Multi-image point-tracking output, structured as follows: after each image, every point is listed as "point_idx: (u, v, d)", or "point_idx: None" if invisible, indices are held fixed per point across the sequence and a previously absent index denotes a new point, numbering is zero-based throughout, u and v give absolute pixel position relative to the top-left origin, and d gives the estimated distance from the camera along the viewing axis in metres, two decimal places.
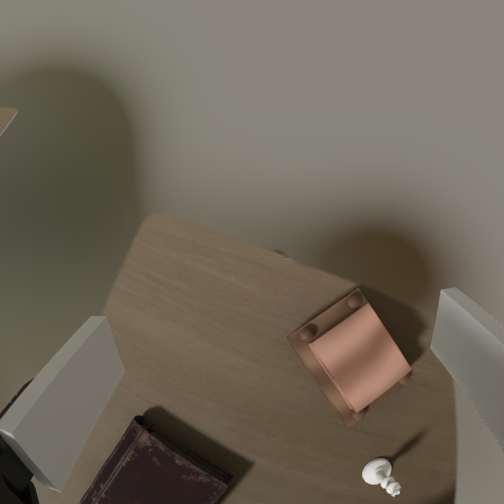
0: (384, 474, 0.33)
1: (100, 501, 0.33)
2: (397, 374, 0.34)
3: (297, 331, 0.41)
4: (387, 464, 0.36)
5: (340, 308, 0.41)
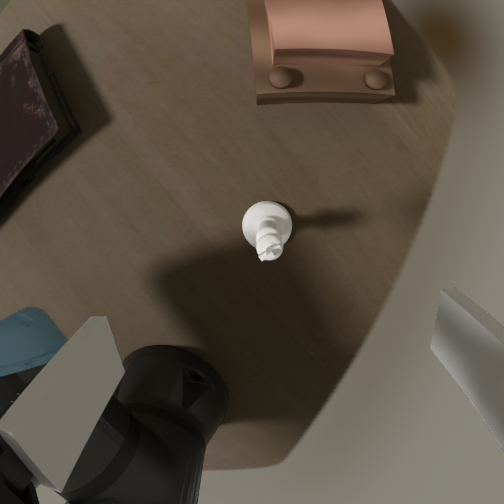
0: None
1: None
2: (368, 42, 0.17)
3: None
4: (287, 222, 0.30)
5: None
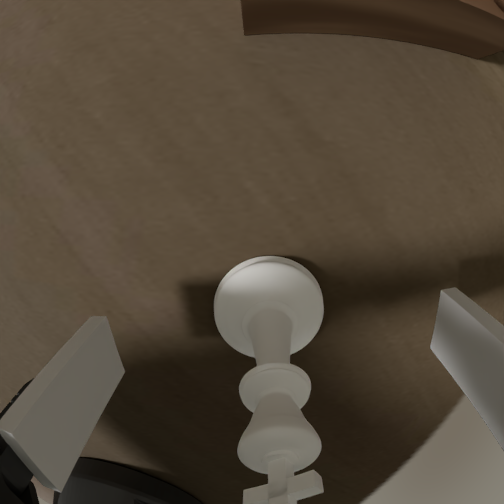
0: (284, 339, 0.10)
1: None
2: None
3: None
4: (314, 306, 0.13)
5: None
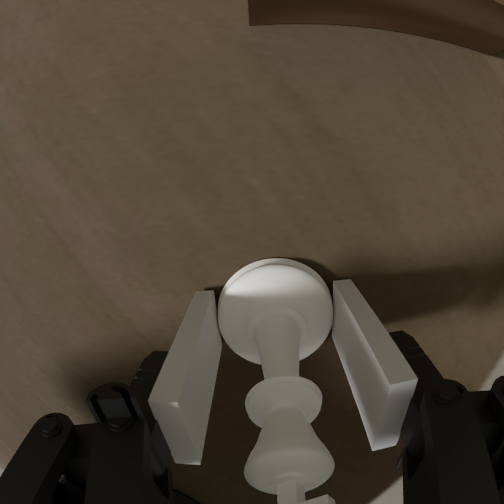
0: (292, 348, 0.10)
1: None
2: None
3: None
4: (324, 311, 0.12)
5: None
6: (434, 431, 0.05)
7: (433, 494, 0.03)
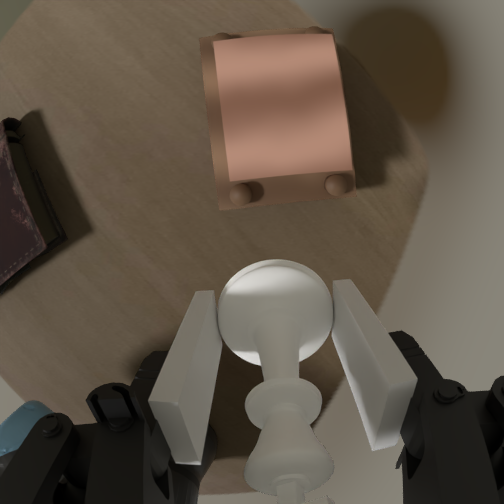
0: (292, 349, 0.10)
1: None
2: (325, 160, 0.21)
3: (214, 37, 0.22)
4: (324, 313, 0.12)
5: None
6: (434, 431, 0.05)
7: (433, 494, 0.03)
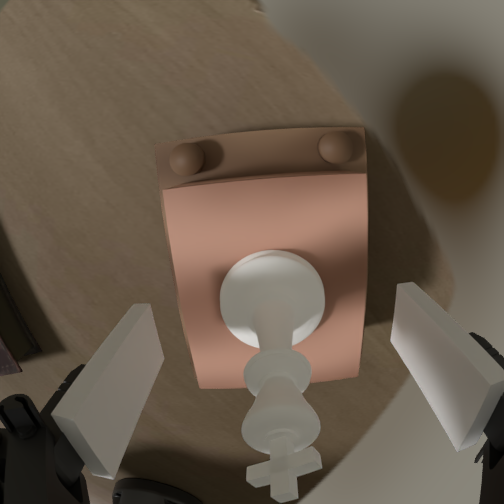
0: (286, 328, 0.11)
1: None
2: (324, 370, 0.16)
3: (176, 144, 0.16)
4: (316, 298, 0.13)
5: (298, 144, 0.16)
6: None
7: None
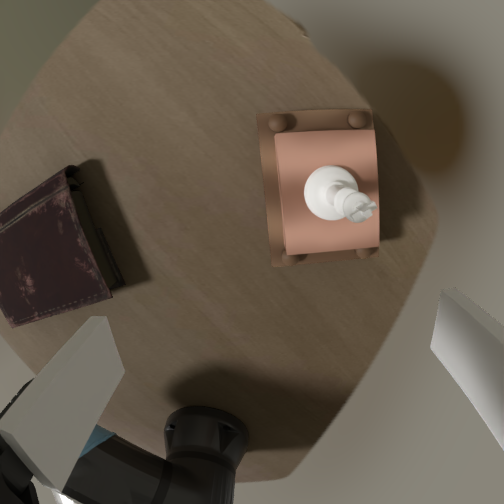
0: None
1: None
2: (359, 240, 0.28)
3: (269, 114, 0.28)
4: (354, 188, 0.25)
5: (337, 118, 0.28)
6: None
7: None
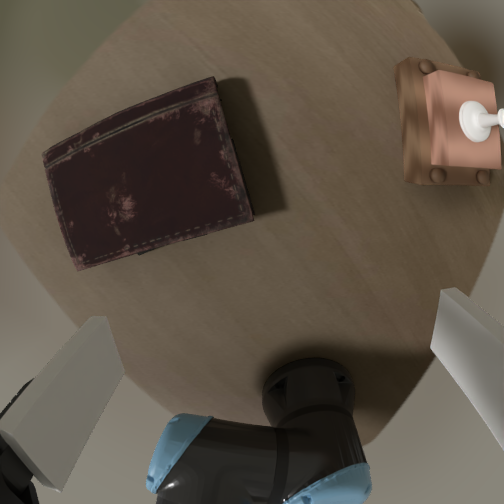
0: None
1: (76, 156, 0.33)
2: (490, 162, 0.27)
3: (418, 59, 0.27)
4: None
5: (460, 73, 0.27)
6: None
7: None
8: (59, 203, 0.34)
